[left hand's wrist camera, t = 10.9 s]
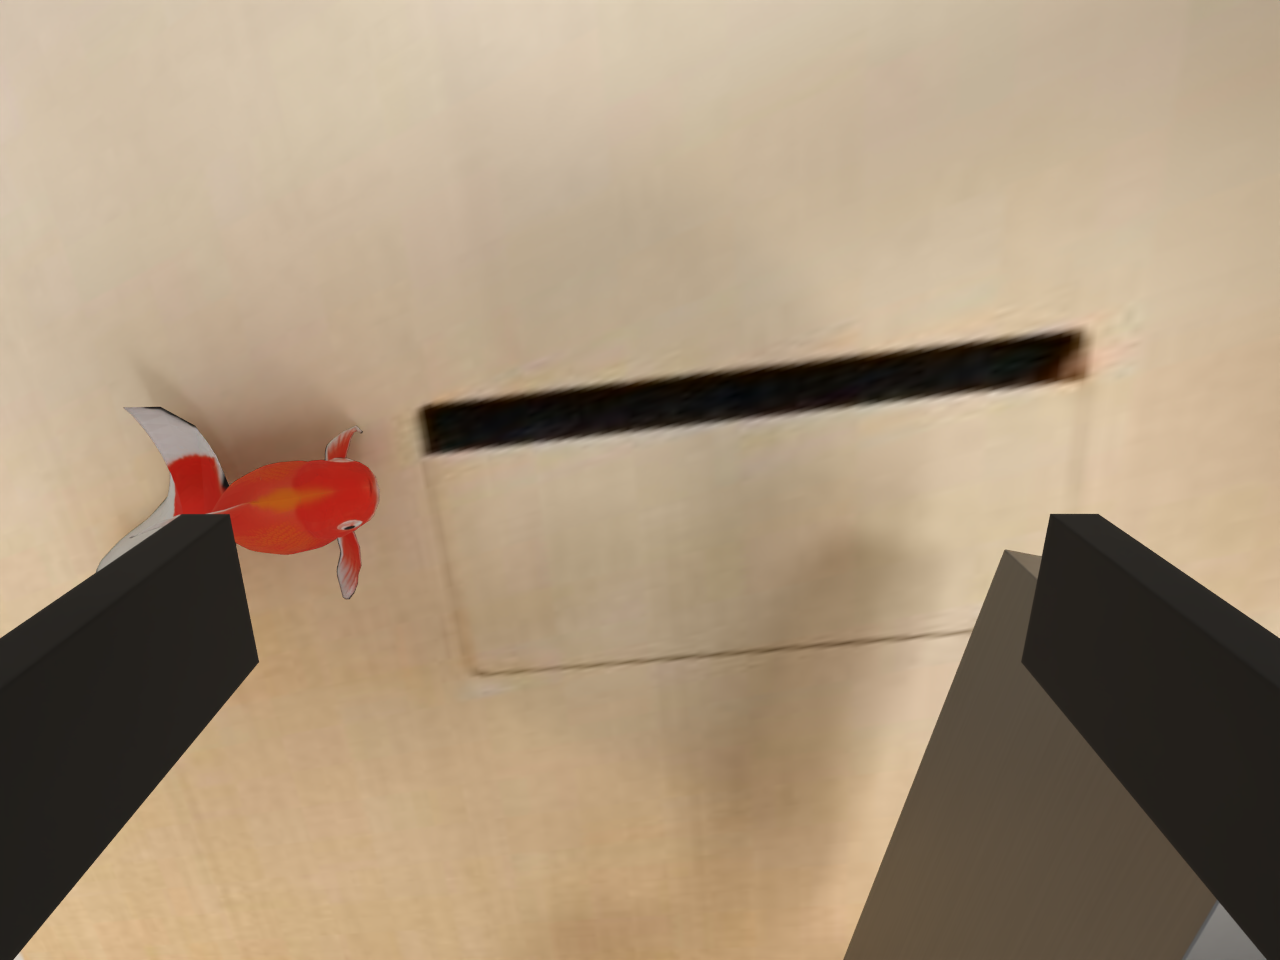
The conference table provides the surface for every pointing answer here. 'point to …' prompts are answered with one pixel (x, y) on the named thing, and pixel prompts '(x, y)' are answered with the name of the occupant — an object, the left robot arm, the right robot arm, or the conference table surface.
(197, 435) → the fish
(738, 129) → the conference table surface
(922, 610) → the conference table surface
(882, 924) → the box
